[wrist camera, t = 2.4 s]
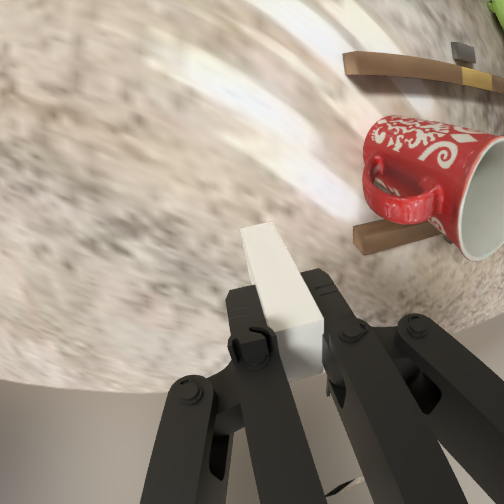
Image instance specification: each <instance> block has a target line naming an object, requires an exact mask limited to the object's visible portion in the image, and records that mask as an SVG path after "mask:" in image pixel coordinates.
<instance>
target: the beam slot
mask: <svg viewBox="0 0 504 504" xmlns="http://www.w3.org/2000/svg"><path fill="white" fill-rule="evenodd" d="M451 46H452V54H453V59H457V60H461V61H464V62H468V63H476V60H475V51H474V47H471V46H468V45H465V44H462V43H459V42H451ZM343 61H344V68H345V75H380V76H397V77H409V78H419V79H428V80H435V81H442V82H449V83H455V84H460V85H466V86H471V87H476V88H480V89H485V90H489V91H493V92H497V93H501V94H504V79H503V78H500V77H497V76H494V75H491V74H488V73H484V72H481V71H477V70H474V69H470V68H466V67H462V66H458V65H454V64H450V63H445V62H440V61H435V60H430V59H424V58H418V57H411V56H404V55H396V54H387V53H376V52H362V51H355V52H349V53H344V54H343ZM439 234H443V233H441V232H440V231H439V230H438V229H437V228H436V227H434V226H433V225H432V224H431V223H430V222H429V221H428V220H426V221H424V222H422V223H418V224H410V225H405V224H397V223H394V222H391V221H388V220H386V219H384V220H379V221H375V222H370V223H366V224H361V225H357V226H353V244H354V245H355V246H356V247H357V248H358V249H359V250H360V251H361V253H362V254H363V255H366V254H370V253H374V252H378V251H382V250H385V249H389V248H393V247H396V246H400V245H404V244H407V243H411V242H415V241H418V240H422V239H425V238H429V237H432V236H436V235H439ZM445 240H446V241H447V242H448V243H450V244H452V243H453V242H452V241H451V240H450V239H448V238H447V237H446V236H445Z"/></svg>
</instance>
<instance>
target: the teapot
mask: <svg viewBox="0 0 504 504" xmlns="http://www.w3.org/2000/svg"><path fill="white" fill-rule="evenodd" d="M488 8H489V10H490V11H491V12H492V13H495V14H496V16H497V18H498V20H499V22H500V24H501V26H502V30H503V33H504V0H492V3H490V2H488Z"/></svg>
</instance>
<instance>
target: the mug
mask: <svg viewBox="0 0 504 504" xmlns="http://www.w3.org/2000/svg"><path fill="white" fill-rule="evenodd" d="M363 158H364V163H365V167H364V171H363V178H362V180H363V191H364V196H365V199H366V201H367V204H368V205H369V207H370V208H371V209H372V210H373V211H374V212H375V213H376V214H378V215H379V216H380V217H382V218H384V219H386V220H388V221H391V222H394V223H397V224H405V225H410V224H418V223H422V222H424V221H426V220H428V221H429V222H430V223H431V224H432V225H433V226H434V227H436V228H437V229H438V230H439V231H440V232H441V233H443V234H444V235H445V236H446V237H447V238H448V239H450V240H451V241H452V242H453V243H454V244H455V245H456V246H457V247H458V248H459V249H460V251H461V253H462V254H463V255H464V257H465V258H467V259H468V260H470V261H475V262H477V261H482V260H484V259H487V258H488V257H490V256H491V255H493V254H494V253H495V252H496V251H497V250H498V249H499V248H500V247H501V246H502V245H503V244H504V136H494V135H491V134H487V133H483V132H480V131H476V130H472V129H468V128H463V127H458V126H453V125H448V124H443V123H439V122H434V121H427V120H421V119H415V118H409V117H404V116H387V117H384V118H382V119H380V120H379V121H377V122H376V123H375V124H374V125H373V126H372V127H371V129H370V130H369V132H368V134H367V136H366V139H365V142H364V147H363ZM374 180H375V181H376V182H378V183H379V184H380V185H382V186H383V187H384V188H386V189H388V190H389V191H390V192H392V193H393V194H394V195H392V194H389V193H386V192H383V191H382V190H380V189H378V188H377V187H376V186H375V185H374V184H373V183H374Z"/></svg>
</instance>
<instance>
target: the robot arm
mask: <svg viewBox="0 0 504 504" xmlns="http://www.w3.org/2000/svg"><path fill="white" fill-rule="evenodd" d="M240 231H241V236H242V241H243V246H244V251H245V256H246V261H247V266H248V271H249V276H250V280H251V283H252V285H250V286H246V287H242V288H237V289H233V290H229V293H228V295H227V298H226V307H227V313H228V319H229V326H230V332H231V336H230V338H229V339H228V346H227V347H228V350H229V353H230V356H231V359H232V360H231V361H230V363H229V365H228V366H227V367H226V368H225V369H223V370H222V371H220V372H219V373H217V374H215V375H213V376H211V377H209V378H207V379H206V378H205V377H203V376H199V375H188V376H185V377H182V378H180V379H178V380H177V381H176V382H175V383H174V384H173V385H172V386H171V388H170V390H169V392H168V396H167V399H166V403H165V406H164V410H163V414H162V417H161V421H160V425H159V428H158V432H157V436H156V440H155V444H154V447H153V451H152V455H151V459H150V463H149V467H148V471H147V475H146V479H145V484H144V488H143V492H142V497H141V501H140V504H225V503H226V494H227V485H228V478H229V469H230V461H231V452H232V444H233V436H234V432H235V431H237V430H239V429H241V428H243V427H245V430H246V436H247V441H248V446H249V451H250V456H251V461H252V466H253V471H254V475H255V480H256V485H257V489H258V494H259V499H260V503H261V504H327V501H326V498H325V495H324V492H323V489H322V486H321V482H320V480H319V476H318V473H317V470H316V467H315V464H314V461H313V458H312V454H311V451H310V448H309V445H308V442H307V439H306V436H305V433H304V430H303V426H302V424H301V420H300V417H299V414H298V411H297V408H296V405H295V402H294V398H293V395H292V392H291V389H290V386H289V382H292V381H296V380H300V379H303V378H307V377H310V376H314V375H317V374H321V373H323V366H324V369H325V371H326V373H327V388H326V394H327V396H330V393H331V395H332V397H333V400H334V402H335V405H336V407H337V410H338V412H339V415H340V417H341V420H342V422H343V425H344V427H345V430H346V432H347V435H348V437H349V440H350V442H351V445H352V447H353V450H354V452H355V455H356V457H357V460H358V463H359V465H360V468H361V470H362V473H363V476H364V478H365V481H366V483H367V486H368V489H369V491H370V494H371V496H372V499H373V502H374V504H468V502H467V500H466V498H465V496H464V493H463V491H462V489H461V487H460V485H459V483H458V480H457V478H456V476H455V474H454V472H453V470H452V468H451V466H450V464H449V462H448V460H447V458H446V456H445V454H444V452H443V450H442V448H441V446H440V444H439V442H440V443H441V444H442V446H443V447H444V448H445V449H446V450H447V451H448V452H449V453H450V454H451V455H452V456H453V457H454V459H455V460H456V461H457V462H458V463H459V464H460V465H461V466H462V467H463V468H464V469H465V470H466V472H467V473H468V474H469V475H470V476H471V477H472V478H473V479H474V480H475V481H476V482H477V484H478V485H479V486H480V487H481V488H482V489H483V490H484V491H485V492H486V493H487V494H488V496H490V498H491V499H492V500H493V501H494V502H495V503H496V504H504V381H503V380H502V379H501V378H500V377H498V375H496V374H495V373H494V372H493V371H492V370H491V369H490V368H489V367H487V366H486V365H485V364H484V363H483V362H482V361H480V360H479V359H478V358H477V357H476V356H475V355H474V354H472V353H471V352H470V351H469V350H468V349H467V348H465V347H464V346H463V345H462V344H460V343H459V342H458V341H457V340H456V339H455V338H453V337H452V336H451V335H450V334H449V333H447V332H446V331H445V330H444V329H442V328H441V327H440V326H439V325H438V324H436V323H435V322H434V321H433V320H431V319H430V318H428V317H426V316H425V315H421V314H417V313H416V314H408V315H406V316H404V317H402V318H401V320H400V321H399V322H398V326H395V327H371V326H370V325H369V324H368V323H367V322H365V321H363V320H361V319H358V318H356V317H355V315H354V313H353V312H352V310H351V309H350V307H349V306H348V304H347V302H346V301H345V299H344V298H343V296H342V295H341V293H340V292H339V291H338V288H337V287H336V285H334V282H333V281H332V279H331V278H330V276H329V275H328V274H327V273H325V272H324V271H322V270H321V269H319V268H318V269H314V270H309V271H305V272H301V273H300V272H299V271H298V269H297V267H296V265H295V263H294V261H293V259H292V257H291V256H290V254H289V252H288V250H287V248H286V246H285V245H284V243H283V241H282V239H281V237H280V235H279V234H278V232H277V230H276V228H275V226H274V225H273V223H272V222H268V223H263V224H258V225H254V226H249V227H245V228H240ZM437 440H438V441H439V442H438V441H437Z"/></svg>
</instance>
